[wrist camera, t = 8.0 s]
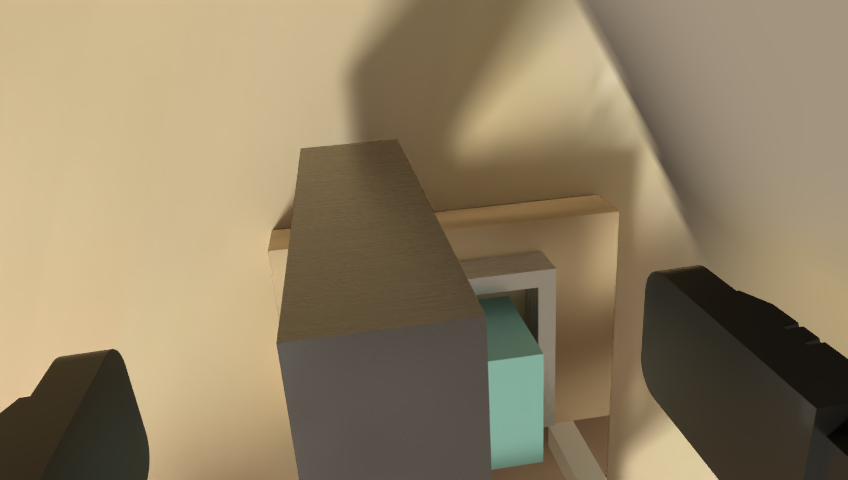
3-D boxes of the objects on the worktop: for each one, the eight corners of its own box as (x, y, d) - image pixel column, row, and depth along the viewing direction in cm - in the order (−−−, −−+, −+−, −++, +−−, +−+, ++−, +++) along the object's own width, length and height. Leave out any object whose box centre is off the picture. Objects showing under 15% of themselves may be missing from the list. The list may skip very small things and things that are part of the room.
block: (396, 309, 23) (410, 372, 19) (508, 295, 23) (543, 353, 20) (404, 405, 24) (420, 480, 21) (509, 390, 25) (543, 461, 21)
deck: (272, 230, 23) (267, 251, 21) (596, 194, 25) (619, 211, 23) (342, 667, 31) (343, 710, 30) (582, 623, 33) (597, 661, 31)
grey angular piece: (300, 148, 20) (277, 343, 9) (542, 125, 21) (787, 277, 10) (339, 430, 24) (354, 807, 13) (541, 401, 25) (717, 730, 14)
